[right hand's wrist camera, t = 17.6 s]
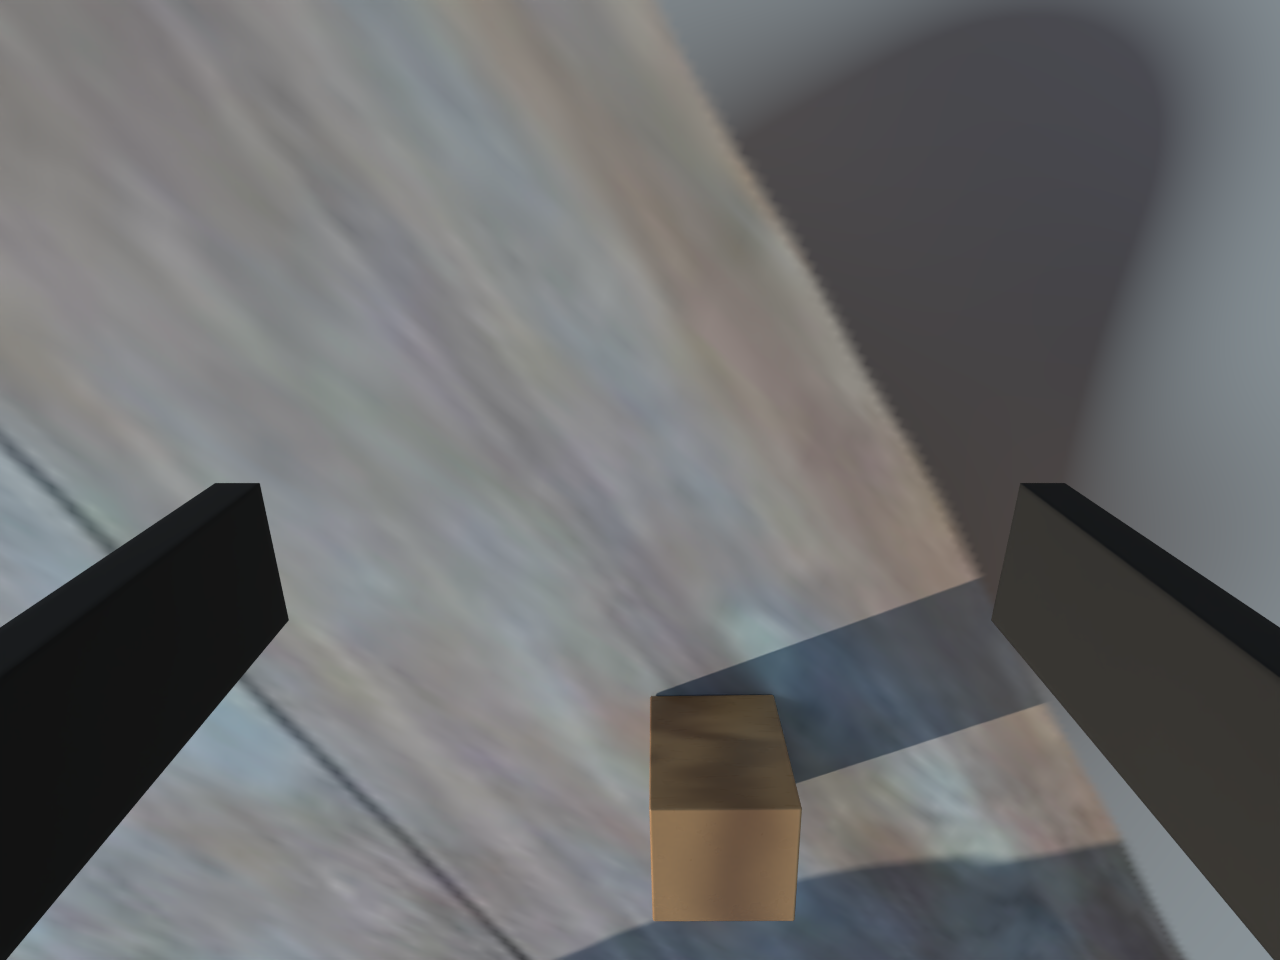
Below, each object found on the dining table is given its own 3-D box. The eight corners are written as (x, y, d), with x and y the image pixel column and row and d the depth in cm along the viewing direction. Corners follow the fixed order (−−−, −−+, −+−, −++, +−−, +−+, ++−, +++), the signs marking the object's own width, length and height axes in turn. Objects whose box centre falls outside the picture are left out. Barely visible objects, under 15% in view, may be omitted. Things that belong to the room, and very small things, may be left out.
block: (653, 794, 37) (652, 922, 30) (650, 695, 35) (649, 809, 28) (769, 793, 37) (794, 921, 30) (773, 694, 34) (802, 808, 28)
